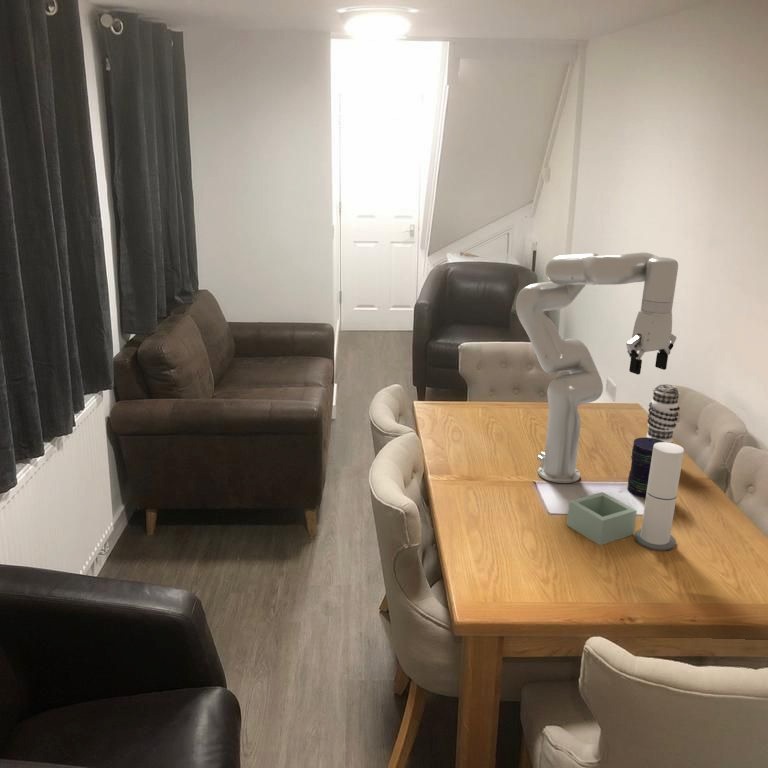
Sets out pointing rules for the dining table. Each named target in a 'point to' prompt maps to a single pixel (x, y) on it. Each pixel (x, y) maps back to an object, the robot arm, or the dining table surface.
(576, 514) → the collar
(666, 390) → the decorative candle
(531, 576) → the dining table surface
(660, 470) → the cylindrical container
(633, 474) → the storage jar
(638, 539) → the grey round disc
